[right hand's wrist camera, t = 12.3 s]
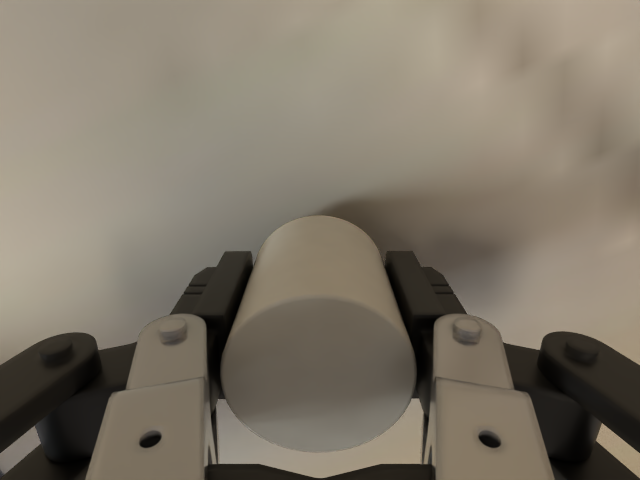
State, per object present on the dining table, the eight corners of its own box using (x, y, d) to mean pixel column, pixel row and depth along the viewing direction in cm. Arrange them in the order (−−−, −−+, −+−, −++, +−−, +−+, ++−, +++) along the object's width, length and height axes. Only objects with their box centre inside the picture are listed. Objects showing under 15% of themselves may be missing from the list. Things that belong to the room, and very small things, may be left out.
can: (241, 312, 13) (201, 430, 9) (273, 197, 12) (244, 269, 7) (358, 342, 13) (377, 470, 9) (402, 235, 12) (450, 326, 8)
